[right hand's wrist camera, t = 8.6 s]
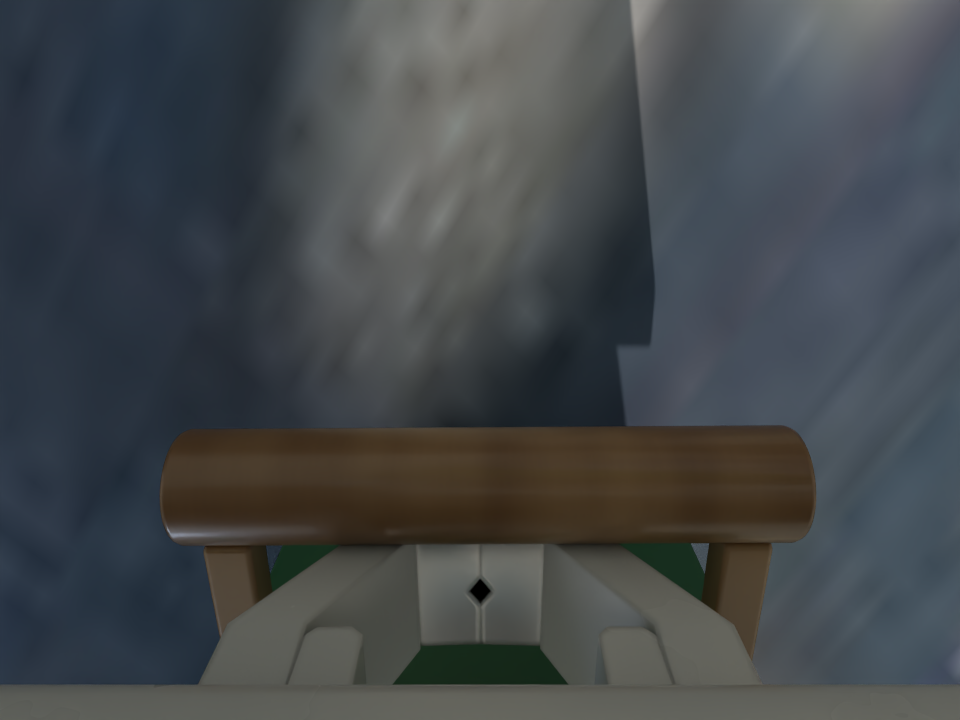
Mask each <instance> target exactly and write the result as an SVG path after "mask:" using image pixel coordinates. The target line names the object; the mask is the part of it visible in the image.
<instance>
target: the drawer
mask: <svg viewBox="0 0 960 720" xmlns="http://www.w3.org/2000/svg"><path fill="white" fill-rule="evenodd" d="M815 507H816V483H815V475H814V469H813V465H812V461H811V458H810V454H809V452H808V449H807V447H806V445H805V443H804V441H803V440H802V438H801V437H800V436H799V434H798V433H797V432H796V431H794V430H793V429H791V428H789V427H786V426H783V425H762V426H601V427H440V428H279V429H190V430H187V431H185V432H183V433H181V434H180V435H179V436H178V437H177V438H176V439H175V440H174V442H173V443H172V445H171V447H170V449H169V451H168V453H167V456H166V459H165V462H164V466H163V470H162V476H161V483H160V510H161V517H162V521H163V525H164V528H165V531H166V533H167V534H168V536H169V537H170V539H171V540H172V541H173V542H175V543H177V544H179V545H182V546H205V547H204V550H203V551H204V558H205V563H206V568H207V573H208V579H209V584H210V589H211V594H212V599H213V605H214V610H215V615H216V620H217V625H218V631H219V636H220V638H221V636H222V634H223V632H224V630H225V628H226V626H227V624H228V623H229V622H231V621H232V620H234V619H235V618H236V617H238V616H239V615H241V614H242V613H244V612H245V611H246V610H248V609H249V608H251V607H252V606H254V605H255V604H257V603H258V602H259V601H261V600H262V599H264V598H265V597H267V596H268V595H269V594H271V593H272V592H274V591H275V590H277V589H278V588H279V587H281V586H282V585H284V584H285V583H287V582H288V581H289V580H291V579H292V578H294V577H295V576H297V575H298V574H299V573H301V572H302V571H304V570H305V569H307V568H308V567H309V566H311V565H312V564H314V563H315V562H317V561H318V560H319V559H321V558H322V557H324V556H325V555H327V554H328V553H329V552H331V551H332V550H334V549H335V548H337V547H338V546H339V545H451V544H620V545H621V546H623V547H624V548H625V549H627V550H628V551H630V552H631V553H633V554H634V555H635V556H637V557H638V558H640V559H641V560H642V561H644V562H645V563H647V564H648V565H650V566H651V567H652V568H654V569H655V570H657V571H658V572H660V573H661V574H662V575H664V576H665V577H667V578H668V579H670V580H671V581H672V582H674V583H675V584H677V585H678V586H680V587H681V588H682V589H684V590H685V591H687V592H688V593H690V594H691V595H692V596H694V597H695V598H697V599H698V600H699V601H701V602H702V603H704V604H705V605H707V606H708V607H709V608H711V609H712V610H714V611H715V612H717V613H718V614H719V615H721V616H722V617H724V618H725V619H727V620H728V621H729V622H731V623H732V624H734V626H735V628H736V630H737V632H738V634H739V636H740V638H741V640H742V642H743V644H744V646H745V649H746V651H747V653H748V655H749V657H750V659H751V661H752V658H753V653H754V647H755V642H756V636H757V631H758V625H759V620H760V614H761V609H762V603H763V598H764V592H765V587H766V581H767V576H768V570H769V565H770V559H771V554H772V545H771V543H793V542H796V541H798V540H800V539H802V538H803V537H805V536H806V534H807V533H808V531H809V529H810V527H811V525H812V522H813V518H814V514H815ZM691 543H709V549H708V556H707V563H706V570H705V574H704V572H703V569H702V567H701V565H700V563H699V561H698V559H697V556H696V554H695V552H694V550H693V548H692V546H691ZM266 545H283V546H282V548H281V550H280V553H279V555H278V557H277V560H276V562H275V564H274V566H273V569H272V571H271V573H270V571H269V565H268V558H267V552H266ZM392 685H569V684H568V683H567V682H566V681H565V679H564V678H563V677H562V676H561V674H560V673H559V672H558V671H557V669H556V668H555V667H554V666H553V664H552V663H551V662H550V661H549V659H548V658H547V657H546V656H545V654H544V653H543V652H542V650H541V649H540V646H523V645H487V644H472V645H437V646H420V651H419V652H418V653H417V654H416V656H415V657H414V658H413V659H412V661H411V662H410V663H409V664H408V666H407V667H406V668H405V669H404V671H403V672H402V673H401V674H400V676H399V677H398V678H397V679H396V681H395V682H394V683H393V684H392Z"/></svg>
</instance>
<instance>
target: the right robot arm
mask: <svg viewBox="0 0 960 720" xmlns="http://www.w3.org/2000/svg"><path fill="white" fill-rule="evenodd" d="M472 644H487V645H523V646H540V649H541V650H542V652H543V653H544V654H545V656H546V657H547V658H548V659H549V661H550V662H551V663H552V664H553V666H554V667H555V668H556V669H557V671H558V672H559V673H560V674H561V676H562V677H563V678H564V679H565V681H566V682H567V683H568V684H569V685H392V684H393V683H394V682H395V681H396V679H397V678H398V677H399V676H400V674H401V673H402V672H403V671H404V669H405V668H406V667H407V666H408V664H409V663H410V662H411V661H412V659H413V658H414V657H415V656H416V654H417V653H418V652H419V651H420V646H437V645H472ZM0 720H960V685H763V684H762V682H761V680H760V678H759V676H758V674H757V671H756V669H755V667H754V665H753V663H752V661H751V659H750V657H749V655H748V653H747V651H746V649H745V646H744V644H743V642H742V640H741V638H740V636H739V634H738V632H737V630H736V628H735V626H734V624H732V623H731V622H729V621H728V620H727V619H725V618H724V617H722V616H721V615H719V614H718V613H717V612H715V611H714V610H712V609H711V608H709V607H708V606H707V605H705V604H704V603H702V602H701V601H699V600H698V599H697V598H695V597H694V596H692V595H691V594H690V593H688V592H687V591H685V590H684V589H682V588H681V587H680V586H678V585H677V584H675V583H674V582H672V581H671V580H670V579H668V578H667V577H665V576H664V575H662V574H661V573H660V572H658V571H657V570H655V569H654V568H652V567H651V566H650V565H648V564H647V563H645V562H644V561H642V560H641V559H640V558H638V557H637V556H635V555H634V554H633V553H631V552H630V551H628V550H627V549H625V548H624V547H623V546H621V545H620V544H451V545H339V546H338V547H337V548H335V549H334V550H332V551H331V552H329V553H328V554H327V555H325V556H324V557H322V558H321V559H319V560H318V561H317V562H315V563H314V564H312V565H311V566H309V567H308V568H307V569H305V570H304V571H302V572H301V573H299V574H298V575H297V576H295V577H294V578H292V579H291V580H289V581H288V582H287V583H285V584H284V585H282V586H281V587H279V588H278V589H277V590H275V591H274V592H272V593H271V594H269V595H268V596H267V597H265V598H264V599H262V600H261V601H259V602H258V603H257V604H255V605H254V606H252V607H251V608H249V609H248V610H246V611H245V612H244V613H242V614H241V615H239V616H238V617H236V618H235V619H234V620H232V621H231V622H229V623H228V624H227V626H226V628H225V630H224V632H223V634H222V636H221V638H220V640H219V642H218V644H217V646H216V649H215V651H214V653H213V655H212V657H211V659H210V661H209V663H208V665H207V667H206V669H205V671H204V673H203V675H202V677H201V679H200V681H199V683H198V685H0Z"/></svg>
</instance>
